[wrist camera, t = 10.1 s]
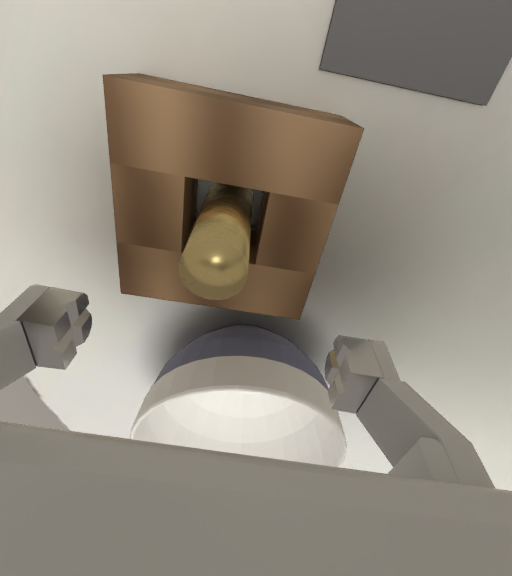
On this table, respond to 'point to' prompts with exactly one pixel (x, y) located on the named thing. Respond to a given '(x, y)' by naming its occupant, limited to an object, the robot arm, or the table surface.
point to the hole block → (227, 170)
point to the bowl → (243, 400)
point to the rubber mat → (423, 44)
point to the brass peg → (219, 244)
